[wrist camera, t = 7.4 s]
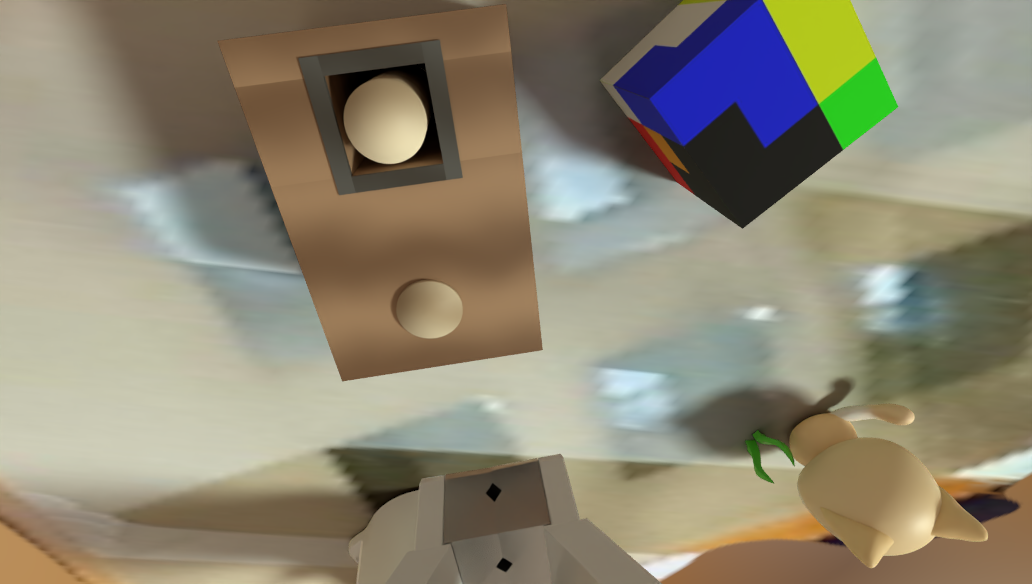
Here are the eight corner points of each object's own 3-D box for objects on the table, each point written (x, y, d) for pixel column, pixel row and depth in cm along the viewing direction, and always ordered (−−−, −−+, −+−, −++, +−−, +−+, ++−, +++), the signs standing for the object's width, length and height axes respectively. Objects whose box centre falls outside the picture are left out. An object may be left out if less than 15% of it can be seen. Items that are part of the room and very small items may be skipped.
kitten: (740, 476, 56) (827, 615, 43) (740, 413, 51) (839, 548, 38) (868, 445, 55) (995, 575, 42) (880, 378, 50) (1029, 502, 37)
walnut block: (519, 264, 40) (543, 352, 29) (372, 286, 39) (341, 384, 28) (489, 11, 31) (506, 3, 20) (299, 35, 30) (214, 41, 20)
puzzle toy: (599, 80, 34) (649, 99, 25) (720, -36, 31) (823, -61, 22) (676, 182, 38) (742, 228, 29) (789, 87, 35) (898, 106, 27)
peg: (440, 117, 33) (433, 158, 23) (387, 125, 33) (355, 169, 23) (429, 59, 31) (416, 74, 21) (373, 66, 31) (333, 85, 21)
